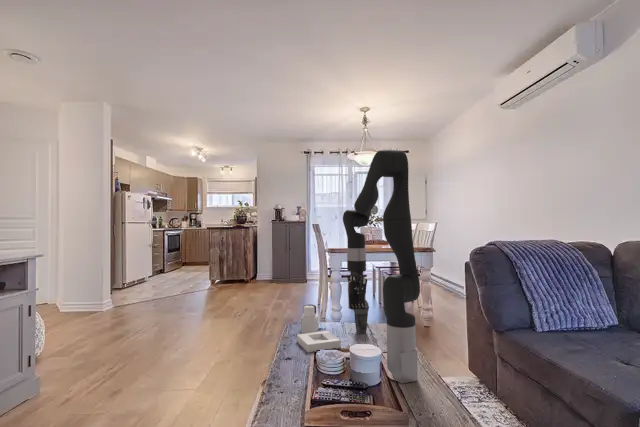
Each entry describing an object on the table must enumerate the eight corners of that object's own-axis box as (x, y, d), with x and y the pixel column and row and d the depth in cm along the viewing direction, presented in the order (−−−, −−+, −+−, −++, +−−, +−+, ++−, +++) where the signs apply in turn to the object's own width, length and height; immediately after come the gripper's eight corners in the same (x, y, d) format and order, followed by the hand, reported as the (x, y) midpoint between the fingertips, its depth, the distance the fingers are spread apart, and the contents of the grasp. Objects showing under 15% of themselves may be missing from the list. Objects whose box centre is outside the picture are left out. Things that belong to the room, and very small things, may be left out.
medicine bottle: (303, 328, 176) (303, 303, 177) (318, 329, 175) (318, 303, 176) (300, 333, 169) (300, 306, 170) (316, 333, 168) (316, 307, 169)
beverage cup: (370, 335, 166) (369, 290, 166) (353, 335, 166) (353, 290, 166) (368, 330, 173) (368, 287, 173) (352, 330, 173) (352, 287, 174)
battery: (350, 310, 146) (350, 281, 146) (347, 308, 150) (347, 280, 150) (367, 309, 148) (366, 280, 148) (363, 307, 152) (363, 279, 152)
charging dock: (340, 347, 149) (340, 340, 150) (307, 352, 144) (307, 344, 145) (327, 337, 163) (327, 330, 163) (296, 341, 158) (296, 334, 158)
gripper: (373, 260, 144) (374, 304, 144) (357, 257, 158) (357, 298, 157) (355, 261, 142) (356, 306, 141) (340, 258, 155) (341, 299, 154)
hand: (357, 301), depth 149 cm, fingers closed on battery, 4 cm apart
